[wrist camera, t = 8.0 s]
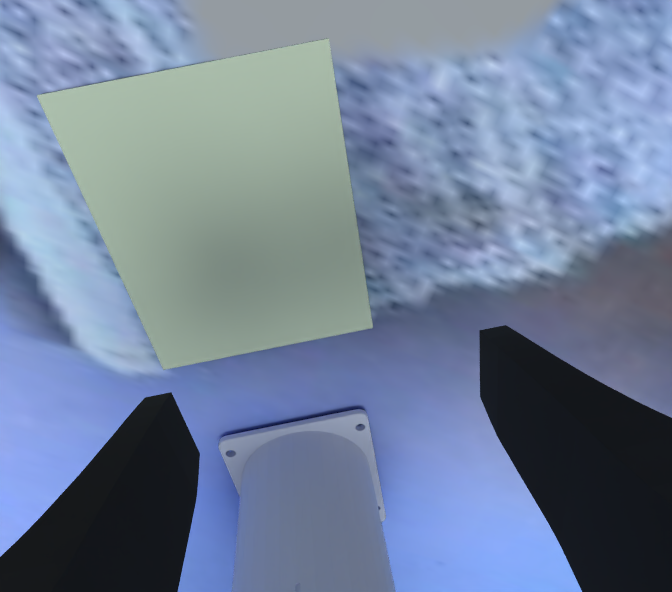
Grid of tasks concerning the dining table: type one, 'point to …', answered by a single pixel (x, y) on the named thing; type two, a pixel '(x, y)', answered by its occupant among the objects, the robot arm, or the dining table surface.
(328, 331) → the mat
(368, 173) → the dining table surface
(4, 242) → the dining table surface
